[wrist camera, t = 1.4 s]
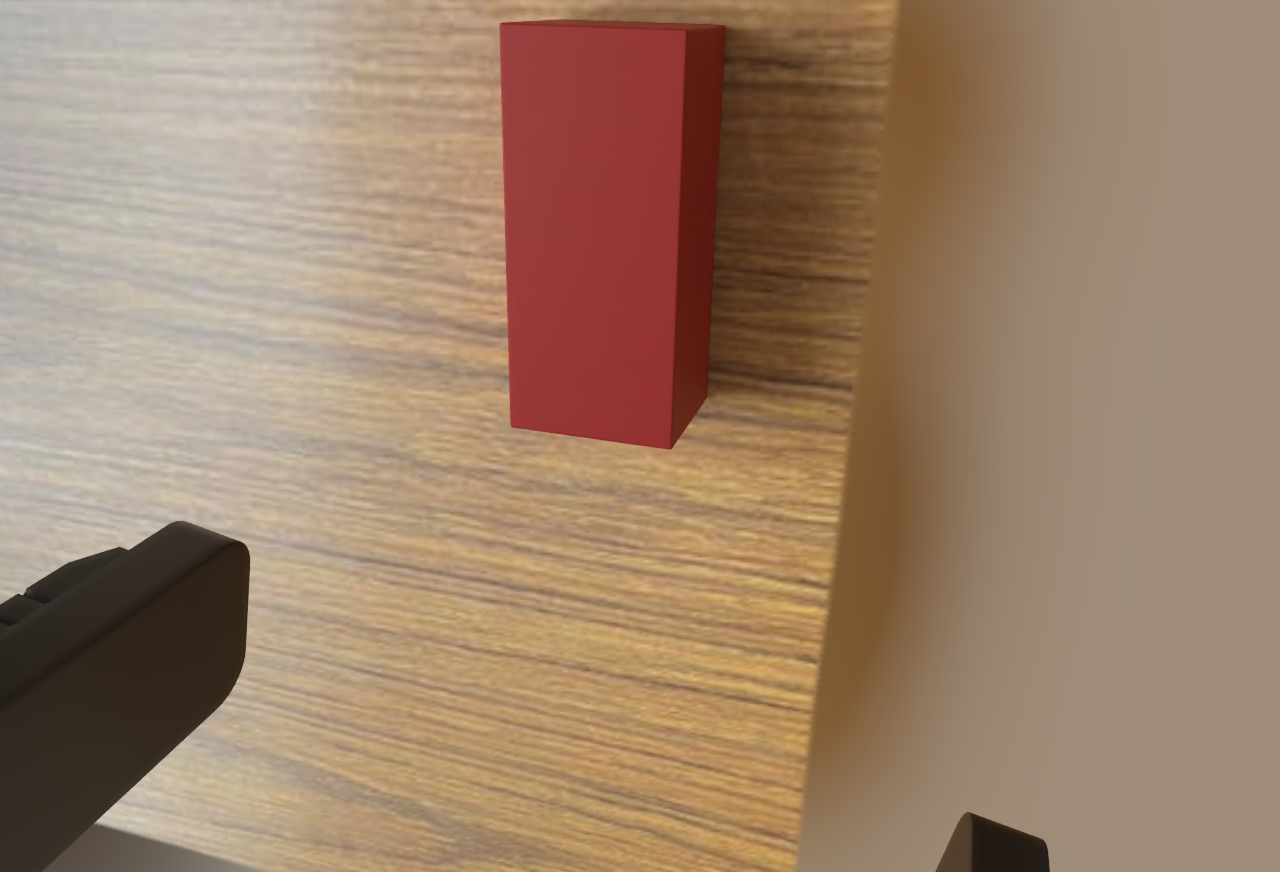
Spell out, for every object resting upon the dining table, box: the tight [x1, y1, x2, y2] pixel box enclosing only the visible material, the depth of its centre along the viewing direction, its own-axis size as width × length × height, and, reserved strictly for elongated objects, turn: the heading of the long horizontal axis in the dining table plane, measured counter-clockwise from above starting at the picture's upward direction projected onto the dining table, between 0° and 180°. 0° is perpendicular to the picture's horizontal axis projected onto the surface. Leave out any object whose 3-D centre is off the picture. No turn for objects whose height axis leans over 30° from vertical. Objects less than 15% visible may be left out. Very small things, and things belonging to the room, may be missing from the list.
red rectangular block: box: [500, 20, 725, 449], centre depth 24 cm, size 9×4×4 cm, turn 179°
